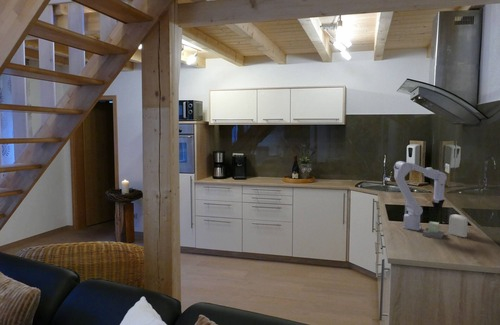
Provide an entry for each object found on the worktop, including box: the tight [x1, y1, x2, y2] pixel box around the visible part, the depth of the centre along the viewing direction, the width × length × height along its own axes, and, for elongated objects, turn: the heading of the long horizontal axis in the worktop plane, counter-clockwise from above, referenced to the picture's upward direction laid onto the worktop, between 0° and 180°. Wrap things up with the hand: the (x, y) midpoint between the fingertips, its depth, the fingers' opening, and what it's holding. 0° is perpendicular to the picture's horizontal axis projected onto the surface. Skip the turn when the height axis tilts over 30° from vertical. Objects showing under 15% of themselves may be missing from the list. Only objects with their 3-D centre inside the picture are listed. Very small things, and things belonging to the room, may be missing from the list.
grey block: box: [422, 227, 445, 239], centre depth 227 cm, size 10×10×3 cm
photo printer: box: [448, 213, 469, 238], centre depth 226 cm, size 10×4×12 cm, turn 29°
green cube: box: [427, 221, 440, 233], centre depth 227 cm, size 5×5×5 cm
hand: (437, 211), depth 241 cm, fingers open, 7 cm apart
